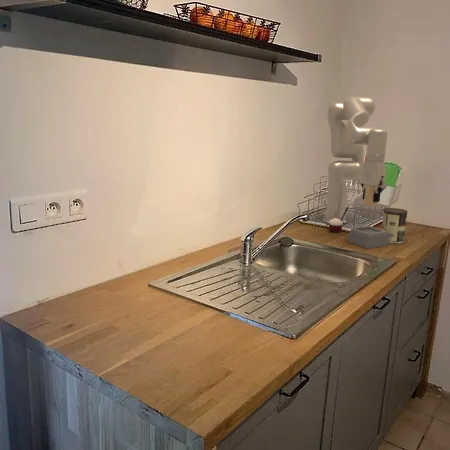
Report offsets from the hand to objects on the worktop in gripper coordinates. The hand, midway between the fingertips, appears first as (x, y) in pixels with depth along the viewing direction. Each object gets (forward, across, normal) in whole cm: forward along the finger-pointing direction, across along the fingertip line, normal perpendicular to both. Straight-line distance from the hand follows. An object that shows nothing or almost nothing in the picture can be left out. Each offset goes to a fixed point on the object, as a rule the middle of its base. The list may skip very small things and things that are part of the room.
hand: (370, 200), depth 215 cm
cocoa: (+20, -22, +1) cm, 29 cm away
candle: (+2, 0, 0) cm, 2 cm away
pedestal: (+19, 0, 0) cm, 19 cm away
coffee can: (+20, +1, +14) cm, 24 cm away
